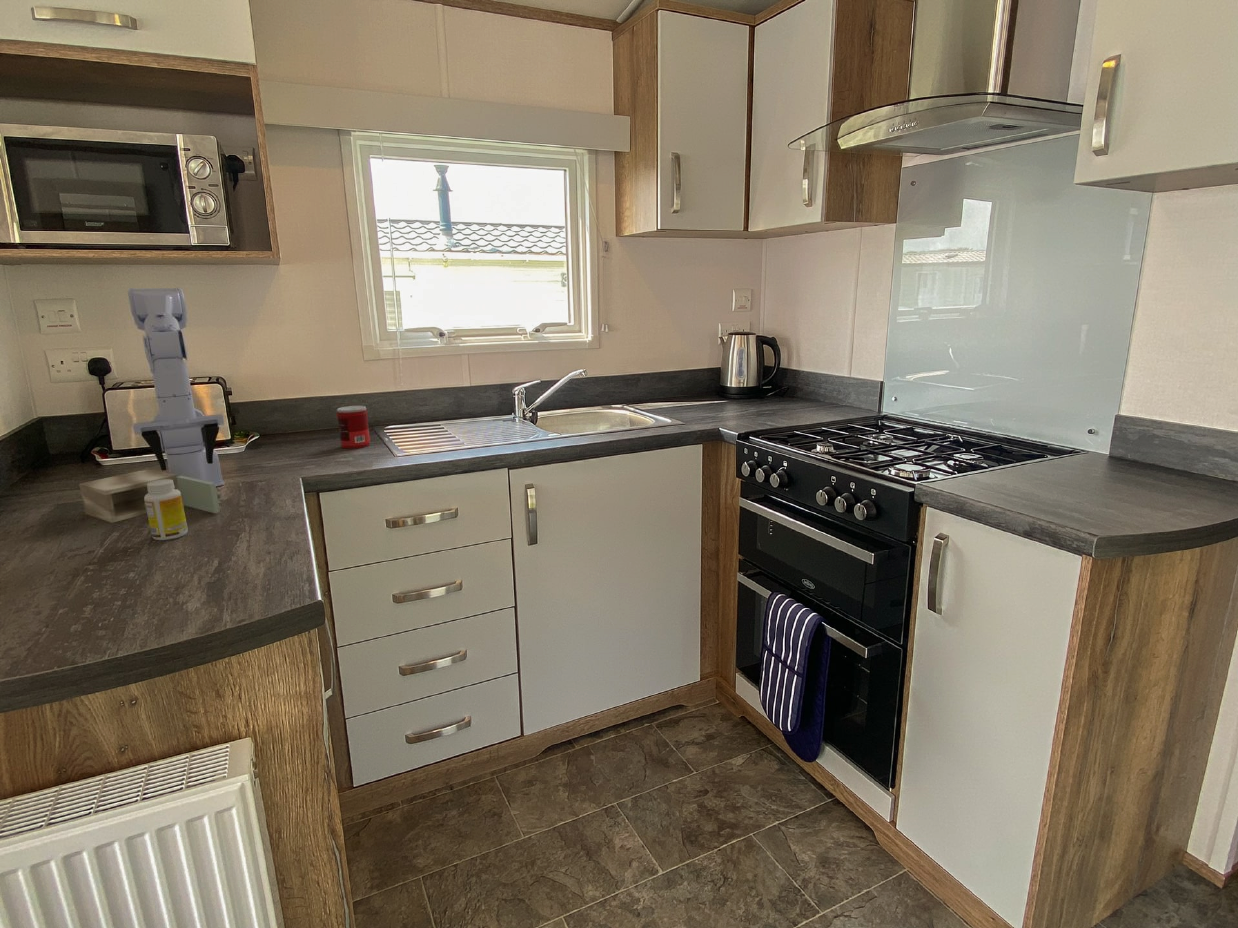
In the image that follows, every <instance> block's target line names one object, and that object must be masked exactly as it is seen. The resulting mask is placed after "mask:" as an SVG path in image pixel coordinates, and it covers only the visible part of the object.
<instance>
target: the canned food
mask: <svg viewBox="0 0 1238 928" xmlns="http://www.w3.org/2000/svg"><path fill="white" fill-rule="evenodd" d="M367 411H368V410H367V407H366V406H364V405H350V406H349V405H348V406H342V407H339V408H337V409H336V415H337V422H338V424H337V425H338V432H339V439H340V445H341V447H342V448H343V449H347V450H354V449H355V450H357V449H362V448H366V447H368V446H370V443H371V438H370V430H369V429H370V428H369V422H368V421H369V420H368V419H369V418H368V412H367Z"/></svg>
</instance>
